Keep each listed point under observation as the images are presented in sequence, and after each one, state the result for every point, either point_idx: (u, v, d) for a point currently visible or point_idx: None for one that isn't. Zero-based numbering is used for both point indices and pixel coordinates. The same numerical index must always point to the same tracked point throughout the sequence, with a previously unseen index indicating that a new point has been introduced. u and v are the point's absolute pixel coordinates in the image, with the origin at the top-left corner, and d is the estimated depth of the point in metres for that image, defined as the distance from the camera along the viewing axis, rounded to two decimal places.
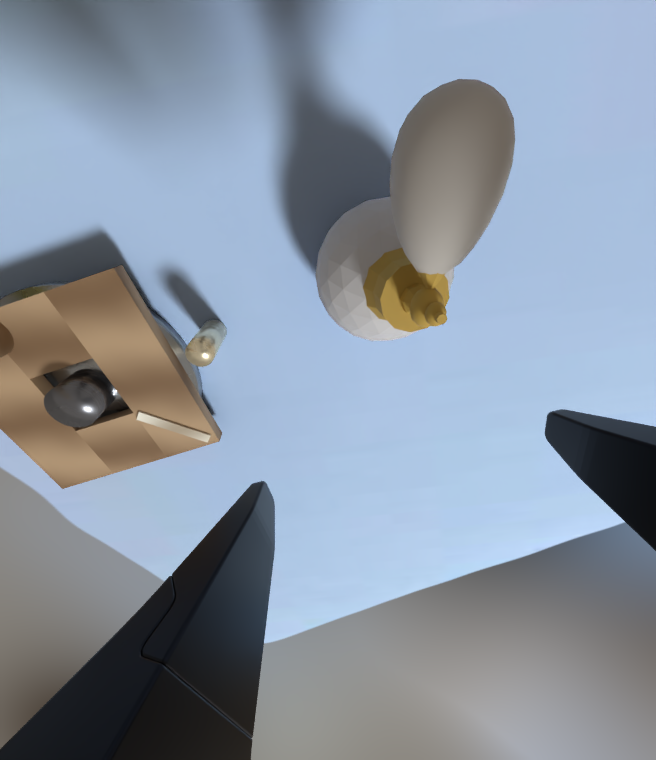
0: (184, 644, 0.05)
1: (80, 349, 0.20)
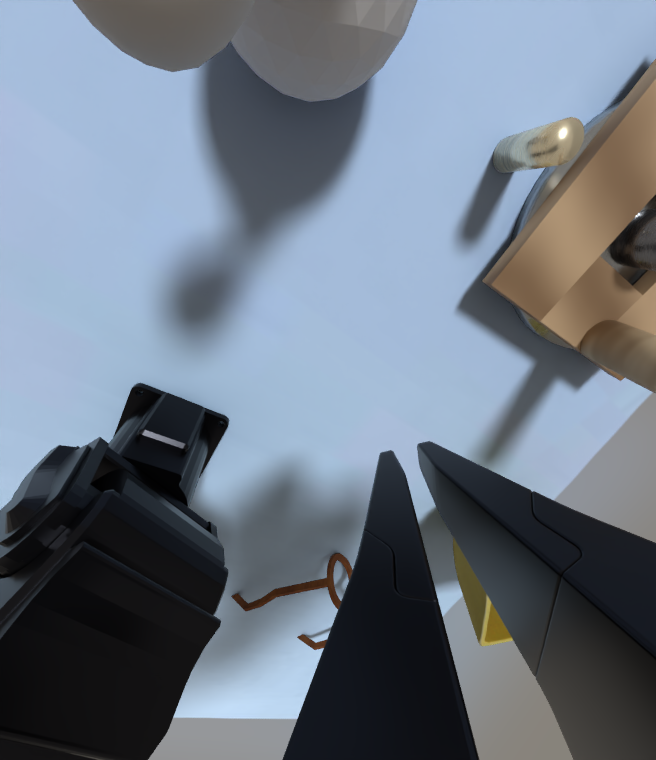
0: None
1: (592, 271, 0.18)
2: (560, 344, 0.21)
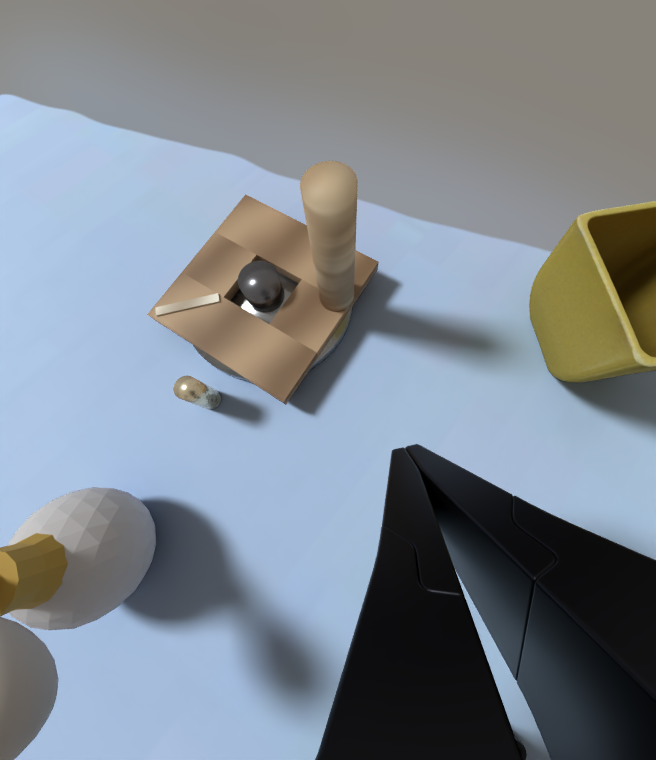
0: None
1: (279, 325, 0.24)
2: (346, 321, 0.25)
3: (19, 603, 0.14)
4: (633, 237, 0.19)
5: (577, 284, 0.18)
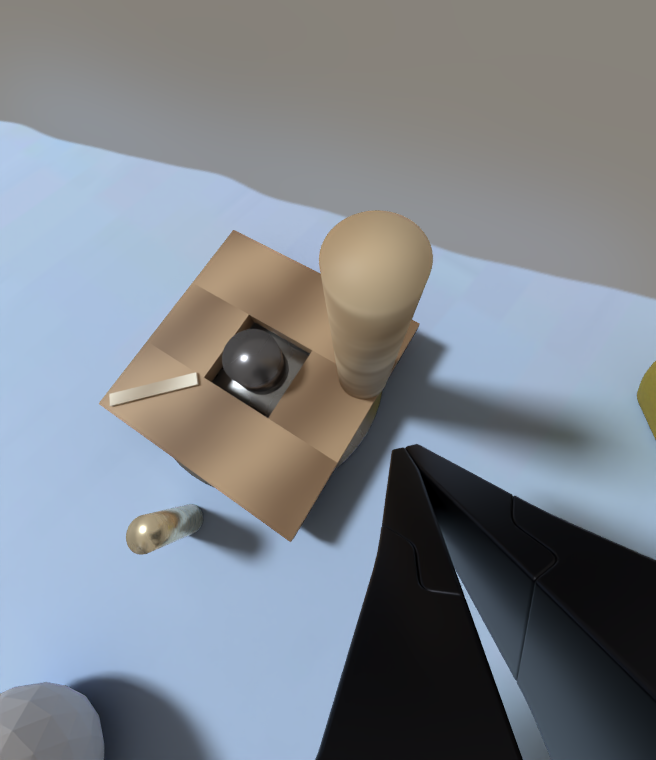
0: None
1: (282, 420, 0.17)
2: (376, 407, 0.18)
3: None
4: None
5: None
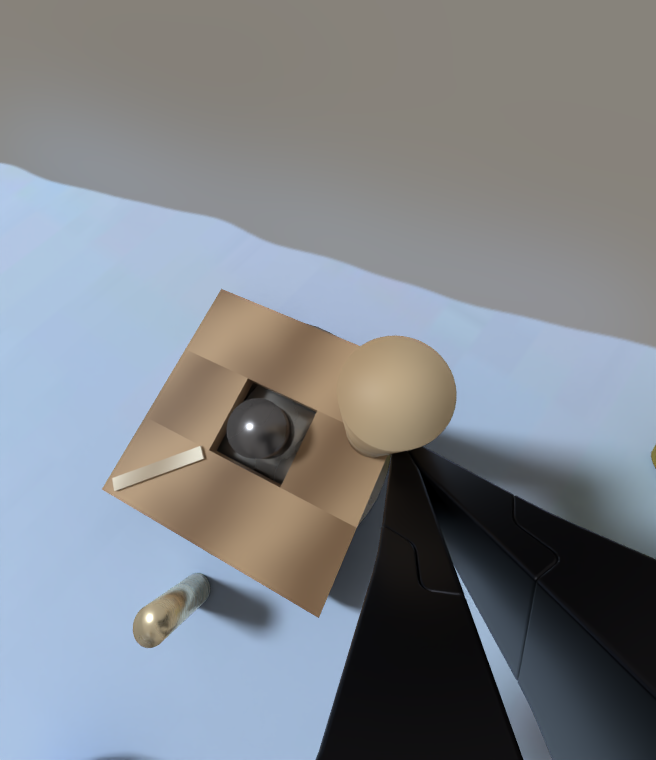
0: None
1: (295, 487, 0.16)
2: (385, 472, 0.17)
3: None
4: None
5: None
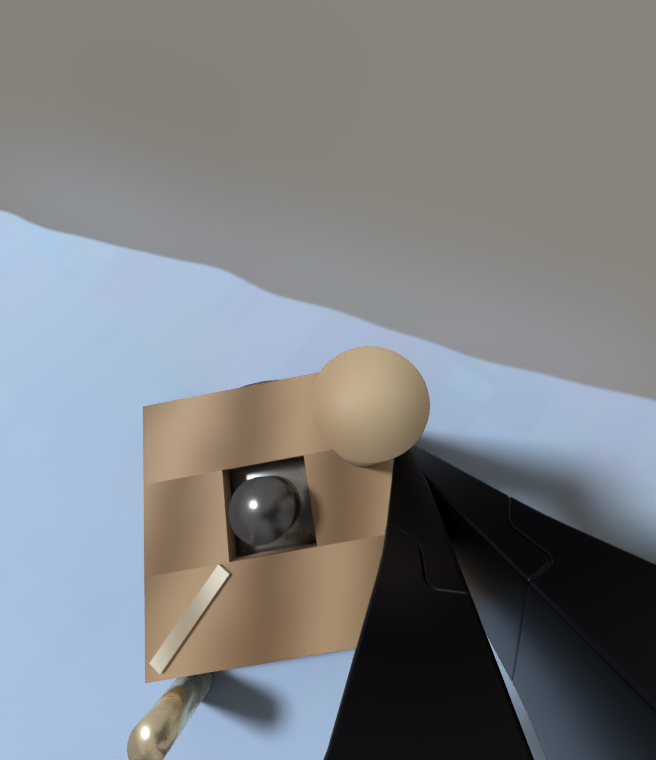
0: None
1: (331, 536, 0.15)
2: None
3: None
4: None
5: None
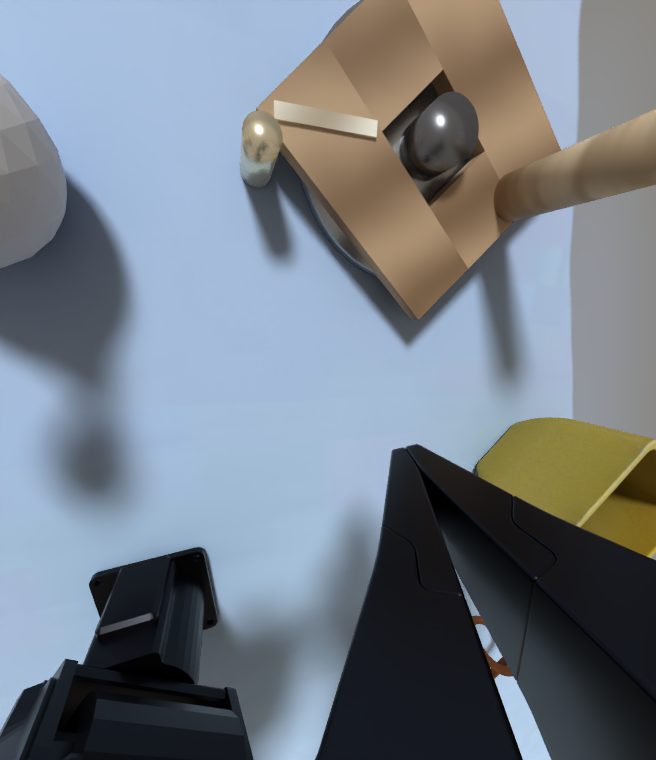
0: None
1: (441, 214, 0.18)
2: None
3: None
4: None
5: (585, 467, 0.19)
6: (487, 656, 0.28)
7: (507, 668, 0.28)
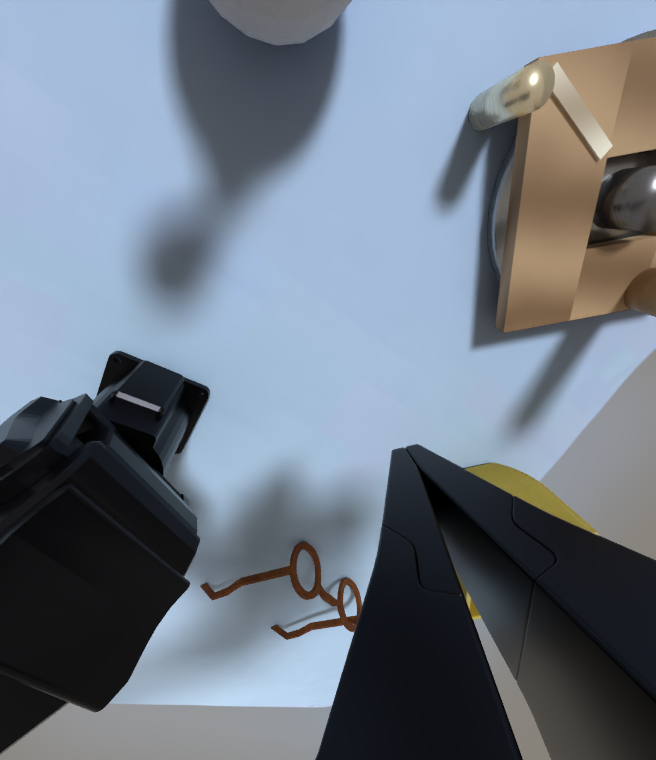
0: None
1: (588, 261, 0.19)
2: None
3: None
4: None
5: None
6: (342, 608, 0.33)
7: (350, 624, 0.33)
